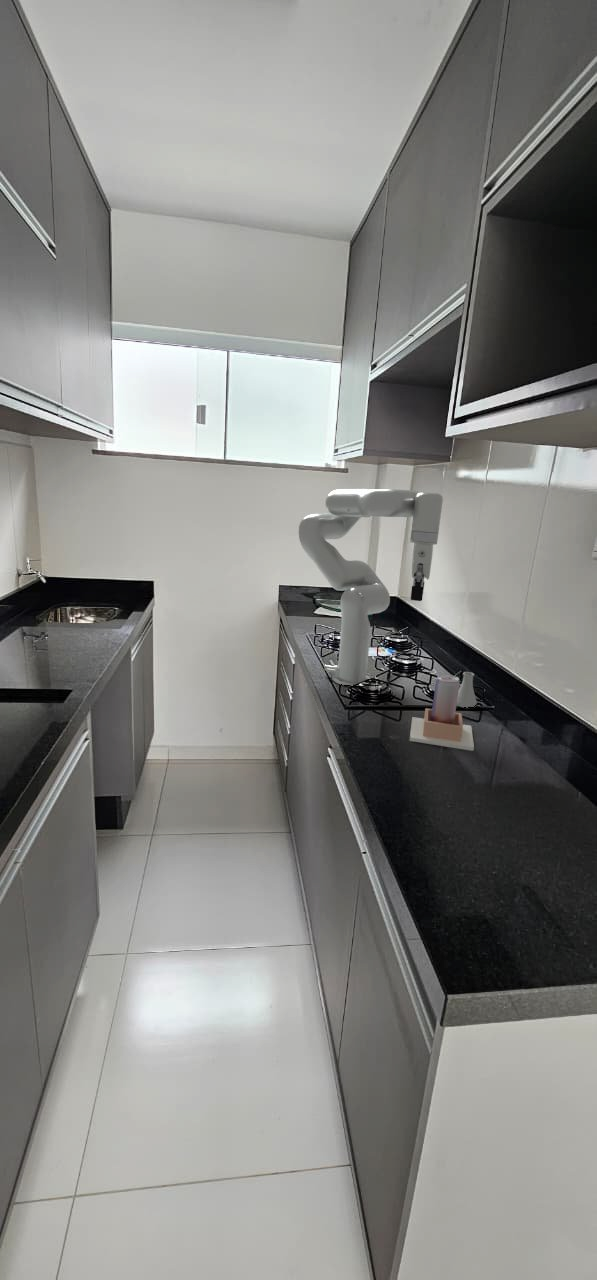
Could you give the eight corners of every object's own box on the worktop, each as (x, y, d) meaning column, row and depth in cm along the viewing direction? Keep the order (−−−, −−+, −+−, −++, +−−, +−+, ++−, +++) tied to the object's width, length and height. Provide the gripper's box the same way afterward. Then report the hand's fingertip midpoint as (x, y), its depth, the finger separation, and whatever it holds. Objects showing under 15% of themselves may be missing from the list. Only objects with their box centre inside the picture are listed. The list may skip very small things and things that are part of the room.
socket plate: (409, 740, 150) (411, 722, 148) (411, 720, 163) (414, 703, 162) (473, 750, 146) (476, 732, 145) (470, 729, 160) (473, 712, 158)
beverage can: (425, 727, 156) (432, 675, 152) (442, 725, 158) (450, 673, 154) (438, 737, 151) (446, 682, 147) (457, 734, 153) (465, 680, 149)
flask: (461, 698, 183) (465, 668, 180) (481, 705, 177) (486, 675, 175) (447, 702, 178) (451, 671, 175) (467, 710, 173) (472, 679, 170)
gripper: (437, 541, 154) (429, 604, 159) (437, 536, 171) (430, 593, 175) (409, 539, 156) (401, 601, 161) (412, 534, 172) (405, 590, 177)
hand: (416, 597), depth 168 cm, fingers open, 9 cm apart
